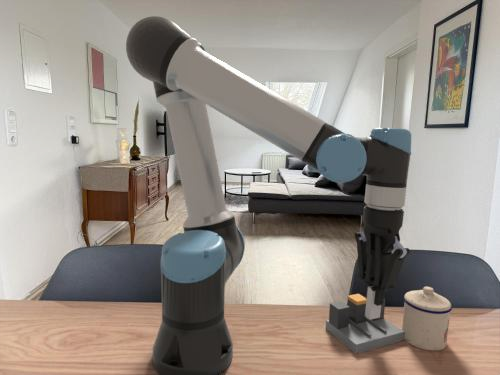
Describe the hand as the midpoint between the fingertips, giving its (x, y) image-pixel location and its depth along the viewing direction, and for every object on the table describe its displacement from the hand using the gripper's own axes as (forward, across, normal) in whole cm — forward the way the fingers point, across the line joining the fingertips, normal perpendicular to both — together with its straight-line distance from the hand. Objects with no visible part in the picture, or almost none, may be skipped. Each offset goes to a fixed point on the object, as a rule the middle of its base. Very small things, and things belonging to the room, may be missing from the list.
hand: (372, 316), depth 72 cm
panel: (+6, +2, -1) cm, 6 cm away
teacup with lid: (+6, -2, -12) cm, 14 cm away
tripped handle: (+4, +5, -1) cm, 6 cm away
